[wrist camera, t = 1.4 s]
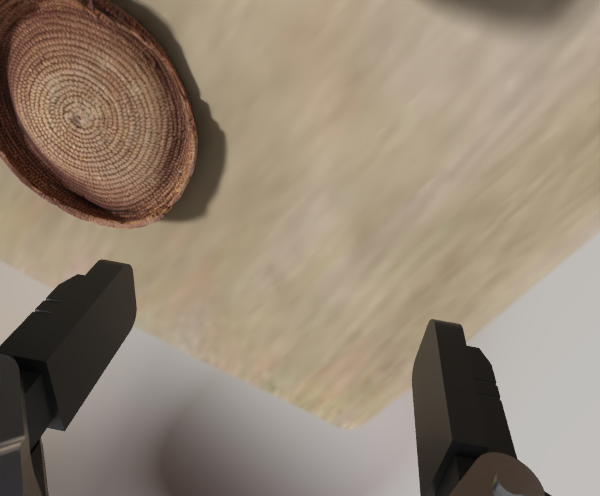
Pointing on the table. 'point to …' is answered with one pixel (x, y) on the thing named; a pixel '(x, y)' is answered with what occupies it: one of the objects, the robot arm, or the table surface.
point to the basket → (93, 111)
